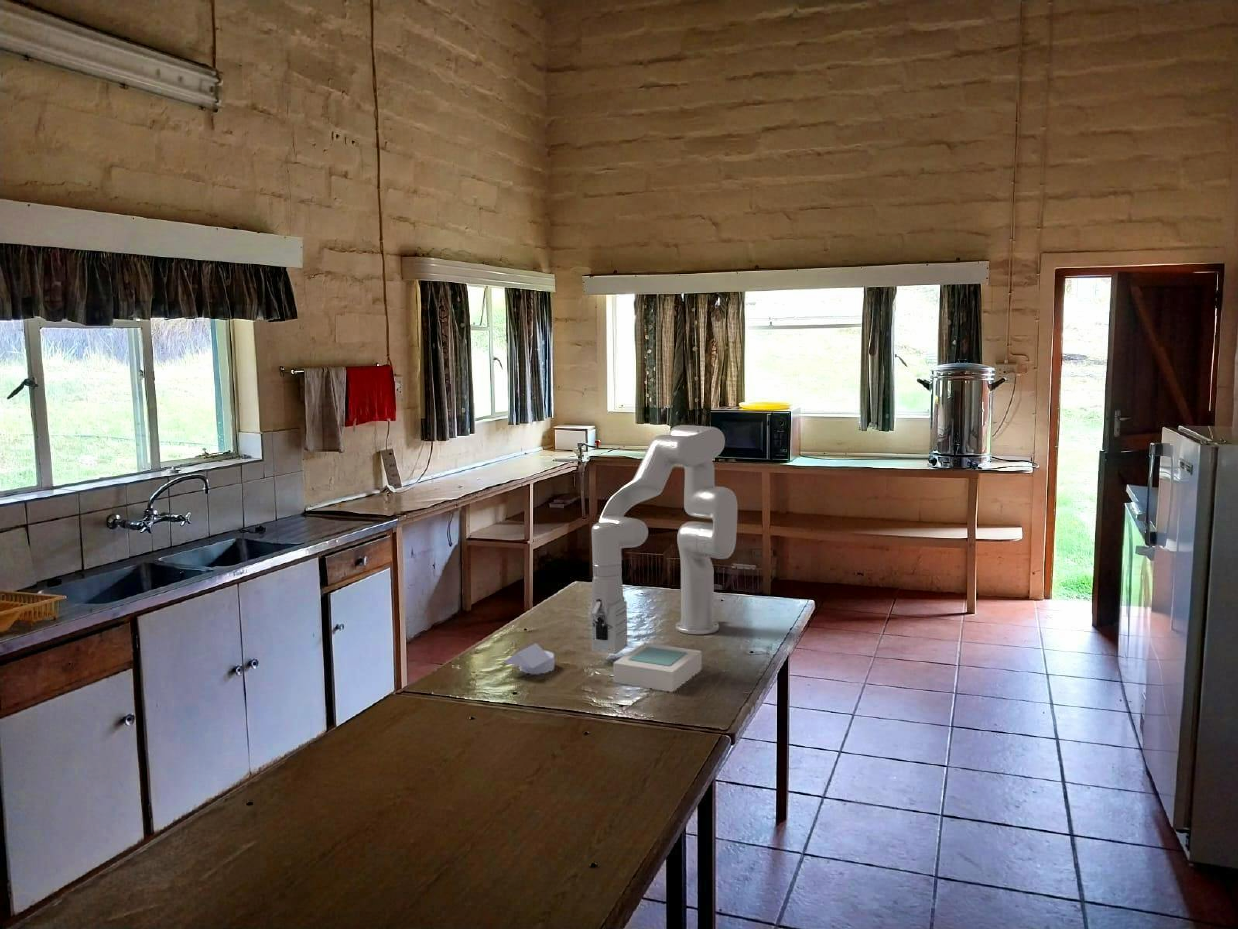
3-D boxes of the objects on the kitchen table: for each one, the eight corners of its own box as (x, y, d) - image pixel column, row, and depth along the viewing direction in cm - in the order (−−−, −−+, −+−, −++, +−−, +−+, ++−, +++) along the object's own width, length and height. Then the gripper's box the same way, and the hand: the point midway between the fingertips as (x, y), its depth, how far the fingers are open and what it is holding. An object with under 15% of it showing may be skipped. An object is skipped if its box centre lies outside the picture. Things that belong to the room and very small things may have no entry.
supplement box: (590, 651, 258) (589, 604, 256) (604, 643, 264) (602, 597, 262) (615, 655, 254) (614, 607, 252) (628, 646, 261) (627, 600, 259)
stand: (645, 661, 258) (644, 641, 258) (701, 669, 251) (701, 649, 250) (613, 682, 242) (613, 661, 242) (672, 692, 235) (672, 671, 234)
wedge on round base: (532, 681, 244) (560, 666, 255) (532, 655, 243) (560, 641, 255) (503, 675, 249) (532, 660, 260) (502, 649, 248) (531, 636, 259)
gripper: (610, 560, 265) (612, 624, 268) (578, 576, 250) (580, 643, 253) (634, 563, 262) (636, 627, 264) (604, 579, 247) (606, 646, 249)
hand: (609, 634), depth 258 cm, fingers closed on supplement box, 7 cm apart
